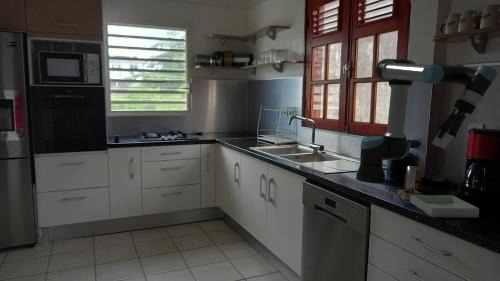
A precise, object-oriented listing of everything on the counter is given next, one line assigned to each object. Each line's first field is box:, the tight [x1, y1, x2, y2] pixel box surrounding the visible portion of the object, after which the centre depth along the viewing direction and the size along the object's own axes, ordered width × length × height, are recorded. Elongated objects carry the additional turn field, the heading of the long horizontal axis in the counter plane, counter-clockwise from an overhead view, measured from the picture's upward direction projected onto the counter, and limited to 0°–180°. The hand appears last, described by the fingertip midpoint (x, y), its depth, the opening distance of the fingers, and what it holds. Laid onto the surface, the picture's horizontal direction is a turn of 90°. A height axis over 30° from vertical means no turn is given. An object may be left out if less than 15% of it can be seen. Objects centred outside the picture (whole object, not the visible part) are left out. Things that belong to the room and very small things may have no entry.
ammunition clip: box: [402, 165, 422, 191], centre depth 175 cm, size 11×2×12 cm, turn 119°
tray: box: [409, 194, 480, 218], centre depth 146 cm, size 18×18×4 cm
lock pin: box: [406, 165, 417, 194], centre depth 162 cm, size 4×4×14 cm
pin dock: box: [396, 189, 424, 201], centre depth 162 cm, size 8×8×3 cm
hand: (438, 146), depth 155 cm, fingers open, 13 cm apart
